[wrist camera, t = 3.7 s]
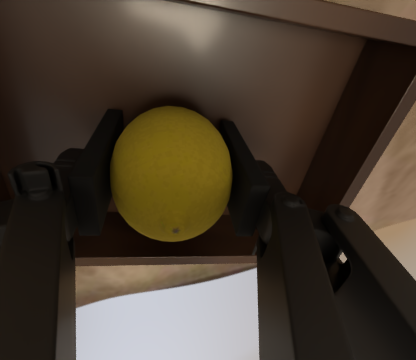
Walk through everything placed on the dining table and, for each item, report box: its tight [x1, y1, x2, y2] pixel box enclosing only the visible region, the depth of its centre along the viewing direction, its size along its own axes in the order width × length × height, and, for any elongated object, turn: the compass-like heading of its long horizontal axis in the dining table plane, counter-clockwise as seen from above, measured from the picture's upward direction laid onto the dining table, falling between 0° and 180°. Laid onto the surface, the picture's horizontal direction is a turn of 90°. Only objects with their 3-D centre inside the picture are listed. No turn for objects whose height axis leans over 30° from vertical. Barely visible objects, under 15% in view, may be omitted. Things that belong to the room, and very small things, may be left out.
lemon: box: [110, 106, 232, 242], centre depth 12 cm, size 6×6×8 cm
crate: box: [0, 0, 416, 266], centre depth 13 cm, size 22×15×4 cm
